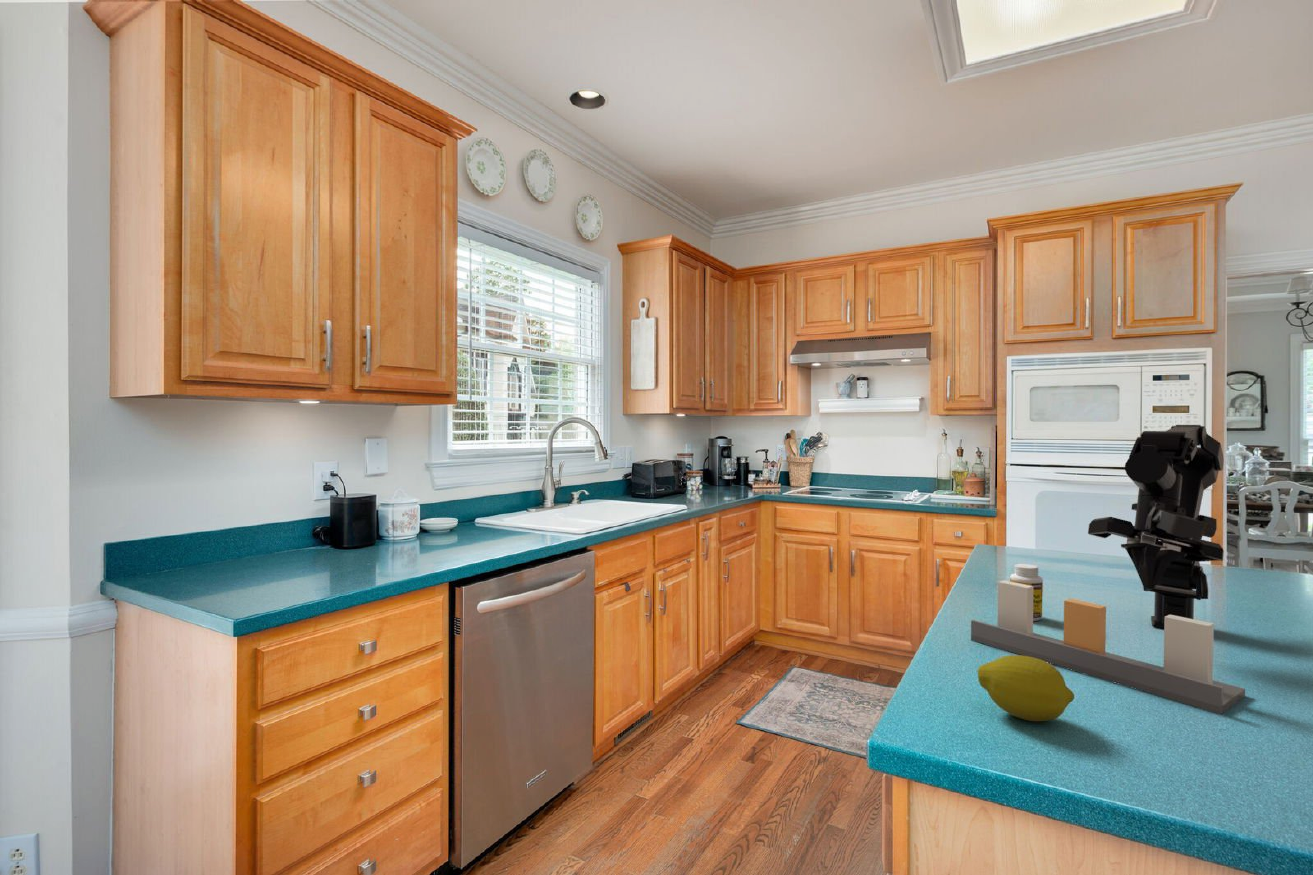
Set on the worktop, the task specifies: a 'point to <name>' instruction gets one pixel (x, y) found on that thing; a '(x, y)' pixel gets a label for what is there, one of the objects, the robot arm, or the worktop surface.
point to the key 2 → (1188, 648)
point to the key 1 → (1015, 607)
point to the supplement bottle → (1029, 577)
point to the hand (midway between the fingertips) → (1148, 589)
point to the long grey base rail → (1111, 668)
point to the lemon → (1026, 687)
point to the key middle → (1085, 625)
